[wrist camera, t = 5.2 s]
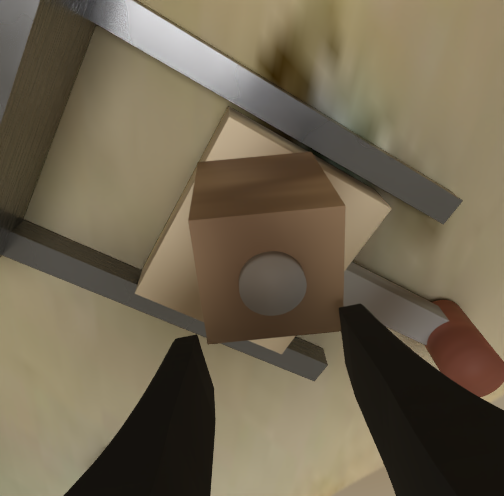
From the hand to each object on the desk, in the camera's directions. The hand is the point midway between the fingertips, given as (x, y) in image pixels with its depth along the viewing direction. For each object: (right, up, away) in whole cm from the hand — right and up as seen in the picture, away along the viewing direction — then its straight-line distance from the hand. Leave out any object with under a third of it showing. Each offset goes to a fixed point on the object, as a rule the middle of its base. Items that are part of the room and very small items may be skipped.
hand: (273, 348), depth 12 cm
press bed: (+3, +2, +8) cm, 9 cm away
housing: (0, +4, +4) cm, 6 cm away
